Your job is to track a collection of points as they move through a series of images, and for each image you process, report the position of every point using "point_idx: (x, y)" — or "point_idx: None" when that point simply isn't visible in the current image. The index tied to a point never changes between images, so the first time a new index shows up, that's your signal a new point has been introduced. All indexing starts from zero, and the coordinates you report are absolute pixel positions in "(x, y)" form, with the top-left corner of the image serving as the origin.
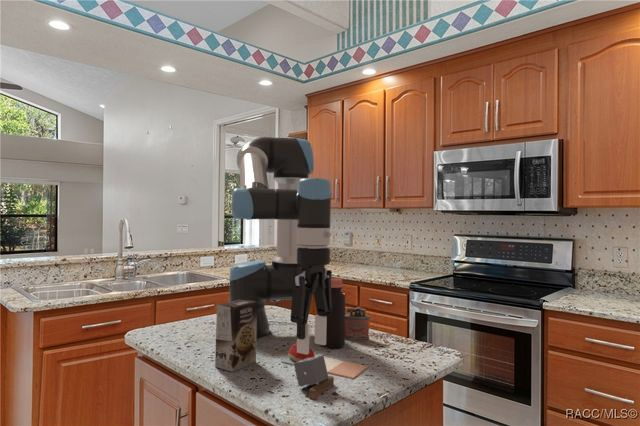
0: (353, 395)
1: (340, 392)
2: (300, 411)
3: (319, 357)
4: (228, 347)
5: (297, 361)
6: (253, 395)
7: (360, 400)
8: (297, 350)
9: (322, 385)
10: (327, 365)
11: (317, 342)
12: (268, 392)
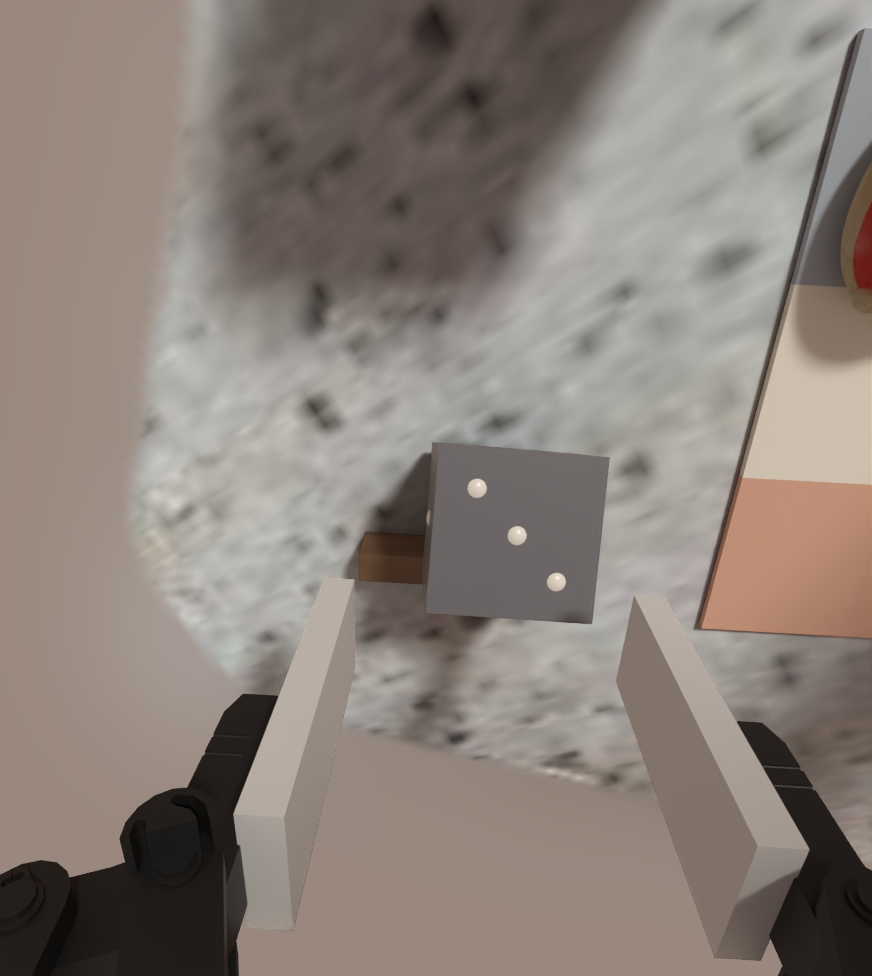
0: (500, 683)
1: (504, 628)
2: (223, 559)
3: (533, 618)
4: None
5: (850, 206)
6: (213, 240)
7: (466, 720)
8: (321, 593)
9: None
10: (861, 429)
11: (634, 628)
12: (301, 300)
